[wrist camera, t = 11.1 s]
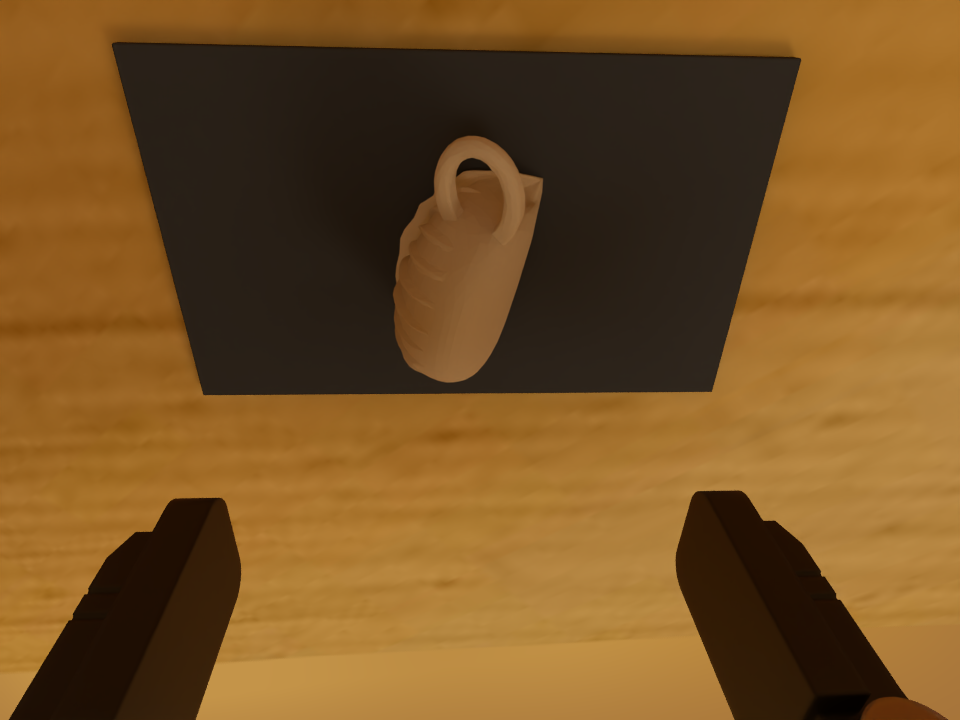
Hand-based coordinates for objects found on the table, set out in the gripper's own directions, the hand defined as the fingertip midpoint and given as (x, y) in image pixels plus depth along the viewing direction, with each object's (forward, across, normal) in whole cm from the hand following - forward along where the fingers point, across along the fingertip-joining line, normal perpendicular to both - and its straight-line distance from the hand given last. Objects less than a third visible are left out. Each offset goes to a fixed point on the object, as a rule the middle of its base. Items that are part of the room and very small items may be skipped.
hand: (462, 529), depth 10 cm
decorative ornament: (+12, -1, -1) cm, 12 cm away
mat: (+12, 0, -1) cm, 12 cm away
